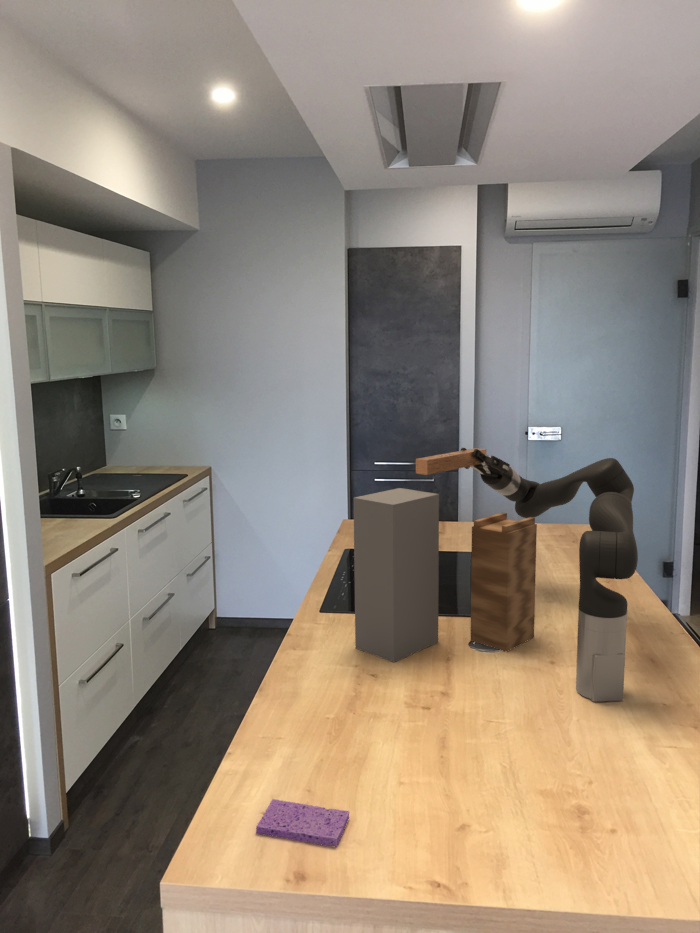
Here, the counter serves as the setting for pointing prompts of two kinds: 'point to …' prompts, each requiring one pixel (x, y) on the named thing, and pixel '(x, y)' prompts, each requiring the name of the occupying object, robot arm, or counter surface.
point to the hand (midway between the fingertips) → (468, 451)
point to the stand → (396, 572)
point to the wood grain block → (503, 581)
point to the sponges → (303, 822)
